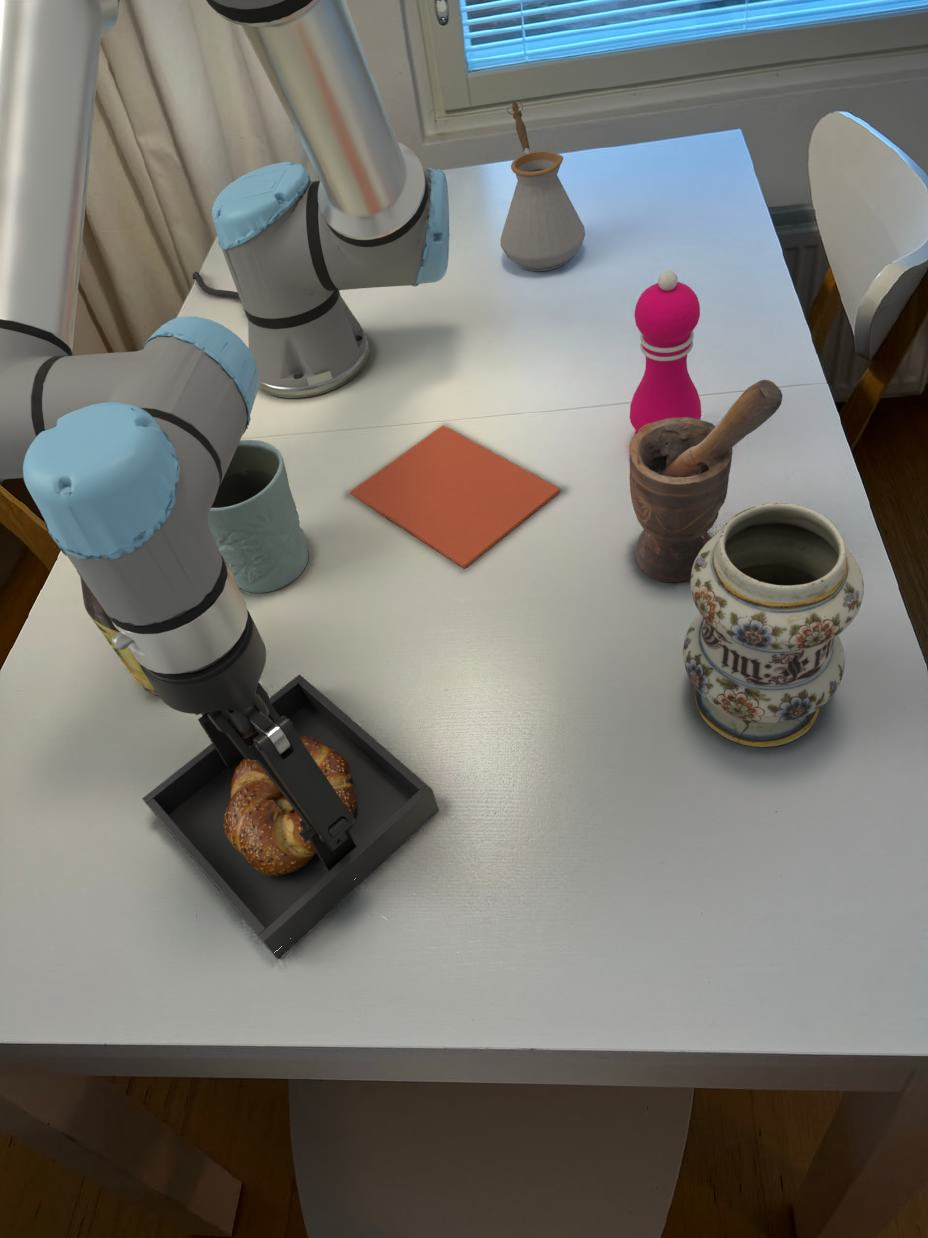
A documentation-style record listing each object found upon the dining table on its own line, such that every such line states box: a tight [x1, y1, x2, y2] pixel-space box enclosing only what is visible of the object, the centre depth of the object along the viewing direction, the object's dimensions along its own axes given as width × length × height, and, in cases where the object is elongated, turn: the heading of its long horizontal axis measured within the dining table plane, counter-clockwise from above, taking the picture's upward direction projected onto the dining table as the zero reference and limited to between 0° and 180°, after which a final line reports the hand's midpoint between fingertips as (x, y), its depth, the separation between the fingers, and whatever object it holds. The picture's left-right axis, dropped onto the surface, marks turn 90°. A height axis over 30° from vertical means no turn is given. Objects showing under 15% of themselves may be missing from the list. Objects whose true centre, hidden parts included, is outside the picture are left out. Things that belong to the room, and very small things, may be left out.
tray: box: [142, 674, 440, 960], centre depth 76 cm, size 17×16×3 cm
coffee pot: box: [499, 100, 586, 272], centre depth 126 cm, size 21×12×15 cm, turn 8°
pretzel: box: [224, 736, 356, 876], centre depth 75 cm, size 12×11×4 cm
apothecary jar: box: [682, 502, 865, 748], centre depth 71 cm, size 12×12×18 cm
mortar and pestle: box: [628, 379, 783, 583], centre depth 82 cm, size 12×9×20 cm
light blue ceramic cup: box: [207, 439, 310, 594], centre depth 93 cm, size 10×10×12 cm
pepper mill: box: [629, 269, 702, 435], centre depth 92 cm, size 7×7×20 cm
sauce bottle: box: [56, 543, 159, 696], centre depth 81 cm, size 7×6×20 cm
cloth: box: [349, 425, 561, 569], centre depth 100 cm, size 18×14×1 cm
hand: (287, 803), depth 75 cm, fingers open, 13 cm apart
